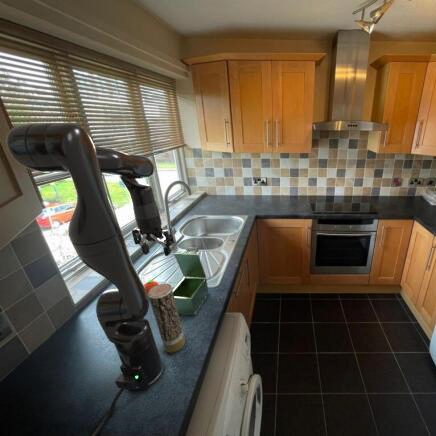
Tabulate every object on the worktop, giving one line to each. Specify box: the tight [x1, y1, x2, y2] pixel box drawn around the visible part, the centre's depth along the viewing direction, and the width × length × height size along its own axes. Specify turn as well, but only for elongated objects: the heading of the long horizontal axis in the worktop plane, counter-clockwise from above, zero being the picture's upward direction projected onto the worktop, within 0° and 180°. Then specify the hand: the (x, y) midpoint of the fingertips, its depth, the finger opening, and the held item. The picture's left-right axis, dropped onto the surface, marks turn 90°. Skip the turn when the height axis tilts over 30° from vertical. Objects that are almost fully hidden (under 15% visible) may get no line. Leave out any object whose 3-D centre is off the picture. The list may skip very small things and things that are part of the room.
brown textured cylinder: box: [148, 283, 186, 354], centre depth 81 cm, size 7×7×25 cm
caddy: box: [172, 276, 210, 317], centre depth 104 cm, size 14×11×9 cm
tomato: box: [143, 279, 159, 294], centre depth 110 cm, size 8×7×7 cm
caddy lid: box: [173, 246, 207, 279], centre depth 106 cm, size 14×11×6 cm
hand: (157, 254), depth 90 cm, fingers open, 8 cm apart
